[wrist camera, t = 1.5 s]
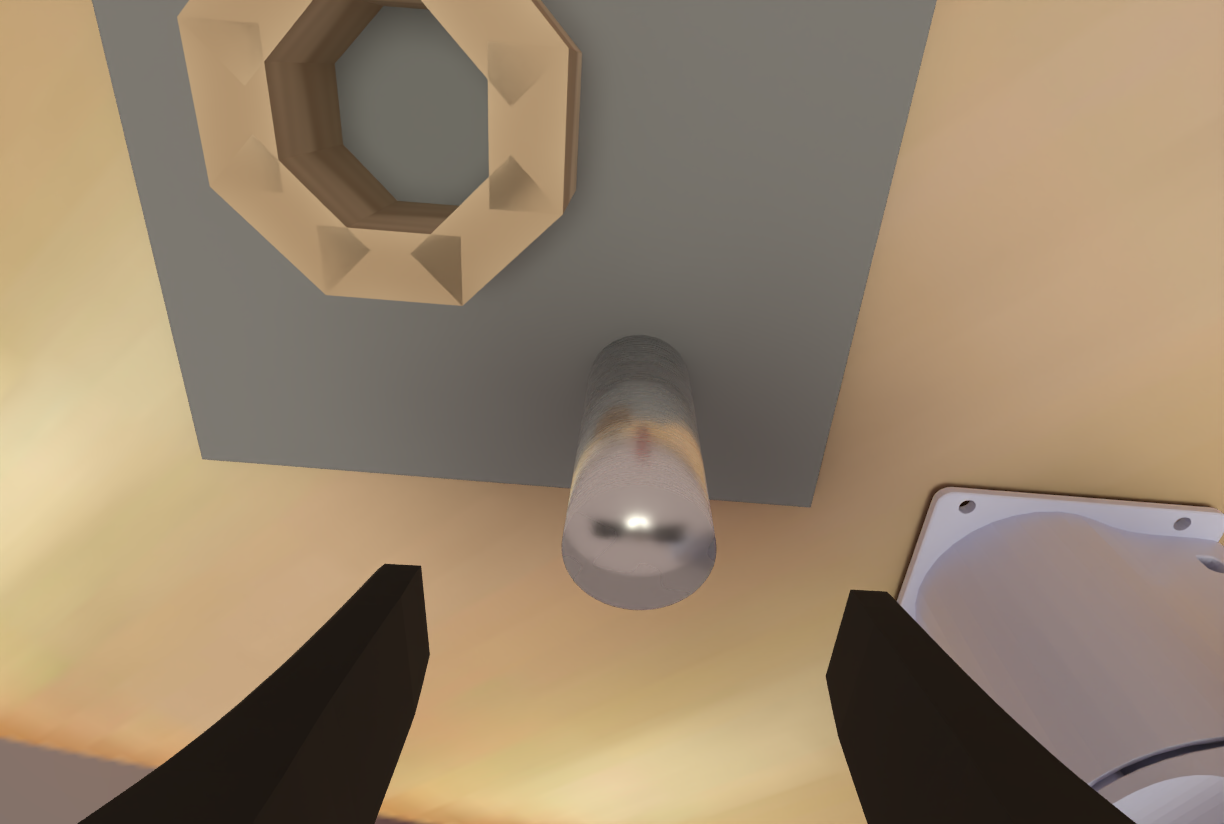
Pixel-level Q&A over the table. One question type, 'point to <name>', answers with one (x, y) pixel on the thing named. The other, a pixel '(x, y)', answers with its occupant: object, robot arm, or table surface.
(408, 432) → the charcoal mat
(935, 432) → the table surface
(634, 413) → the steel peg
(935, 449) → the table surface
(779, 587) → the table surface
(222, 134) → the beech bead
